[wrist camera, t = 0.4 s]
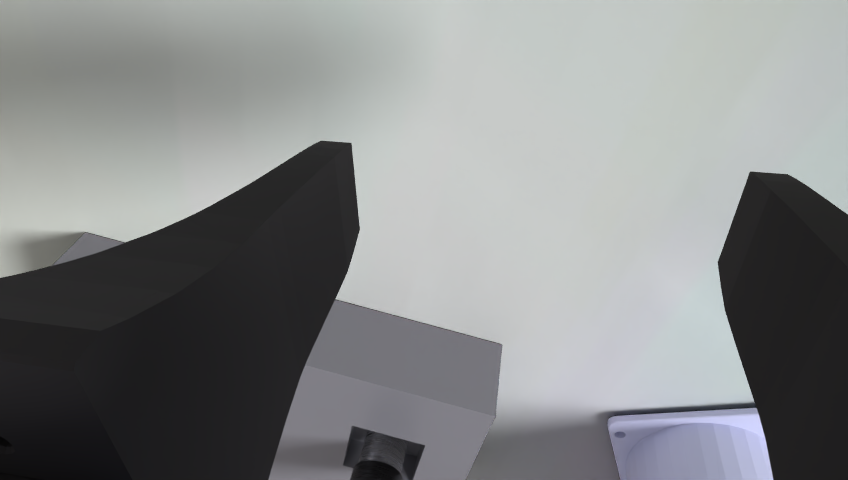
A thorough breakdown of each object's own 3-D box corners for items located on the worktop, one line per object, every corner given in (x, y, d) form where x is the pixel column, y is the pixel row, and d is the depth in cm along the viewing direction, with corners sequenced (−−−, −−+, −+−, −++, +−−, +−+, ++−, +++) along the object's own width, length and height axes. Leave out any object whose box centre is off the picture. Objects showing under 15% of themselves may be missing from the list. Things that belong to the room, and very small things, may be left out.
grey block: (502, 344, 28) (495, 416, 25) (453, 459, 35) (442, 528, 32) (85, 232, 29) (27, 290, 26) (111, 366, 35) (67, 426, 32)
